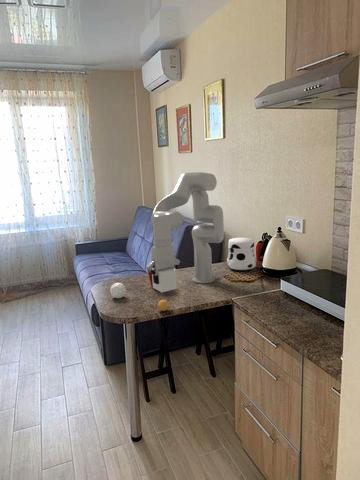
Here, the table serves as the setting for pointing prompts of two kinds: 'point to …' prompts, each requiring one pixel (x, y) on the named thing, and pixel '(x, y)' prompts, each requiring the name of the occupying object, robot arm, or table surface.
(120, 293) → the geometric ball
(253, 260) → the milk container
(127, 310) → the table surface
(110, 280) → the table surface
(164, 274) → the white angular block
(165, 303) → the ball
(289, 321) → the table surface
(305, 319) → the table surface
